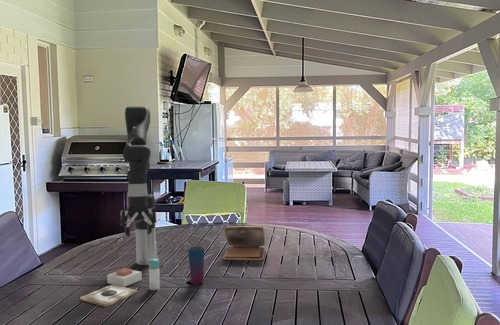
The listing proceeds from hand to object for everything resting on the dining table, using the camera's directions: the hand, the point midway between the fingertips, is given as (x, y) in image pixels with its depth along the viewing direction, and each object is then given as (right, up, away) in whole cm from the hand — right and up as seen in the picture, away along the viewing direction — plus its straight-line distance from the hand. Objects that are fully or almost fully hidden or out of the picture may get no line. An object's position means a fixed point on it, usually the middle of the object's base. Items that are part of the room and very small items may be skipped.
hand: (138, 235), depth 184 cm
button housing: (-9, -22, +12) cm, 26 cm away
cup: (+22, -22, +10) cm, 33 cm away
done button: (-9, -20, +12) cm, 25 cm away
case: (+42, -18, +49) cm, 67 cm away
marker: (+6, -22, +4) cm, 23 cm away
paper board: (-10, -23, -4) cm, 26 cm away
